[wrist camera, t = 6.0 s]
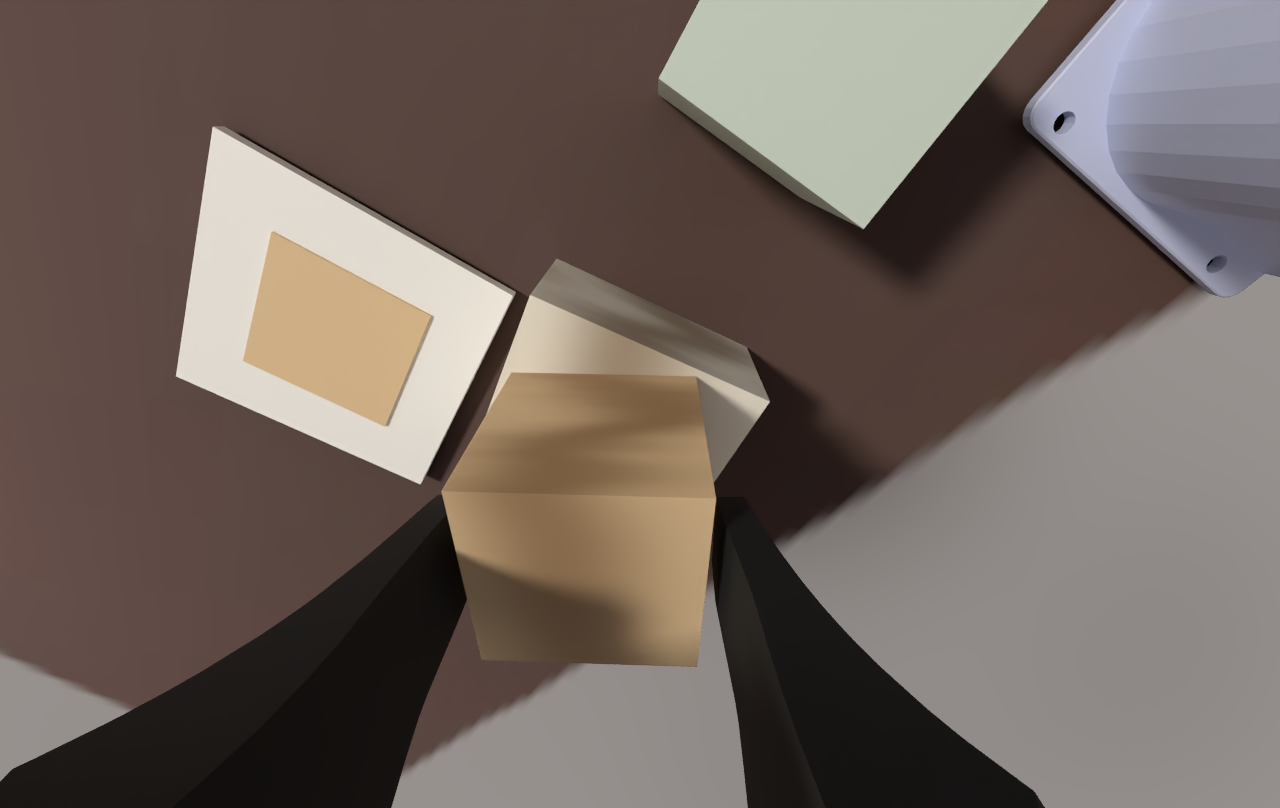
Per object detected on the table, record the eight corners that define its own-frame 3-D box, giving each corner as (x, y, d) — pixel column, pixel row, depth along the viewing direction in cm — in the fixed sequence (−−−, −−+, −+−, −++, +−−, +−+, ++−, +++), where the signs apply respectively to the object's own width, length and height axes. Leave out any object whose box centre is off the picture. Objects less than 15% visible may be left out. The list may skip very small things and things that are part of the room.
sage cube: (932, 15, 12) (1085, -46, 8) (800, 198, 14) (863, 229, 10) (775, -129, 11) (853, -293, 7) (657, 94, 13) (658, 78, 9)
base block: (745, 345, 17) (770, 401, 14) (657, 487, 20) (658, 562, 17) (557, 257, 16) (530, 294, 12) (494, 424, 19) (458, 492, 15)
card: (516, 292, 16) (512, 296, 16) (424, 478, 20) (419, 485, 19) (223, 126, 14) (210, 126, 13) (185, 371, 18) (173, 377, 17)
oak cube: (696, 376, 13) (716, 498, 9) (685, 516, 16) (697, 667, 11) (511, 372, 13) (441, 491, 9) (529, 512, 16) (481, 659, 11)
